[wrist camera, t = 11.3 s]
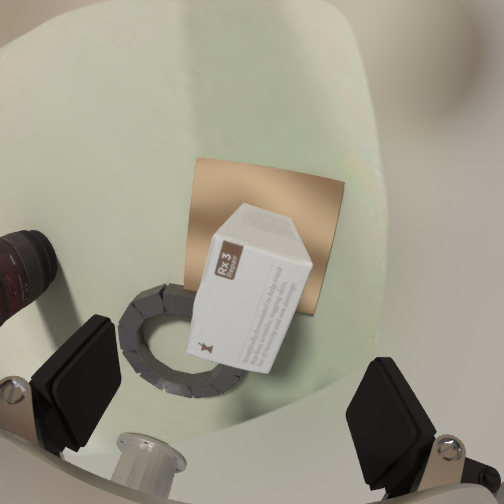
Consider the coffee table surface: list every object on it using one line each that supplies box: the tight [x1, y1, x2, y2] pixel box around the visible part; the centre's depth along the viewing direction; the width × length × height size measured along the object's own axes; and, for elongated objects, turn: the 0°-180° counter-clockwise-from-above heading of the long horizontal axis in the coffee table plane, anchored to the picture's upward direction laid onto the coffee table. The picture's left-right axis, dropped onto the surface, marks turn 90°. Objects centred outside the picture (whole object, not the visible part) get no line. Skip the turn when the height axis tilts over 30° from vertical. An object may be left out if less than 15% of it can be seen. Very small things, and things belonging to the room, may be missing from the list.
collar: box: [118, 283, 243, 398], centre depth 26 cm, size 13×13×2 cm
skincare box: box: [186, 203, 313, 374], centre depth 17 cm, size 6×4×12 cm
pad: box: [184, 158, 345, 314], centre depth 23 cm, size 12×12×1 cm
